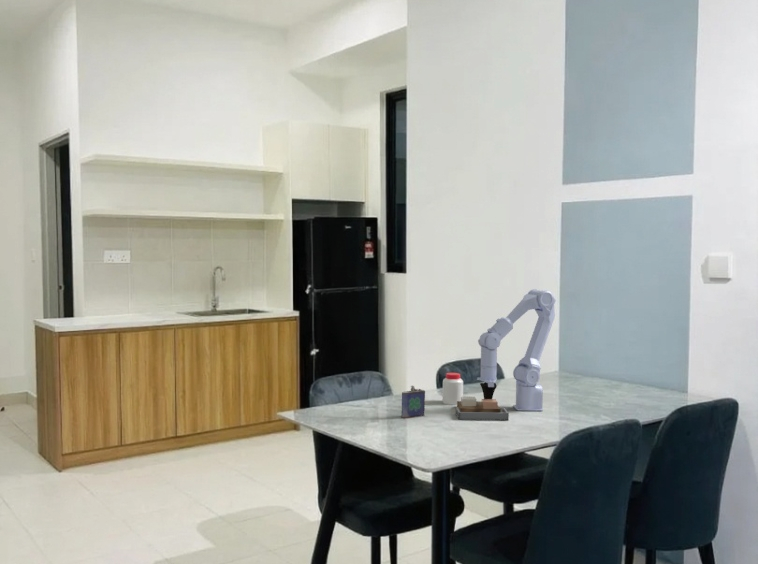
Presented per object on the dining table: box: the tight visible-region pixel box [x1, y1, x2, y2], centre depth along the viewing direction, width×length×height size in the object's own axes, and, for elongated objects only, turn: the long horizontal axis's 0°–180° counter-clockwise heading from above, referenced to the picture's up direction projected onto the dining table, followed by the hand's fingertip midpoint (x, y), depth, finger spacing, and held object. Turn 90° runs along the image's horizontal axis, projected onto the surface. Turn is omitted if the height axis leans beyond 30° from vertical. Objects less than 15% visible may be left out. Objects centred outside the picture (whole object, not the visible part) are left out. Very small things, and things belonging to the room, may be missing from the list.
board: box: [456, 400, 501, 413], centre depth 262 cm, size 14×12×2 cm
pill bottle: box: [442, 372, 464, 406], centre depth 274 cm, size 8×8×11 cm
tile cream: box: [461, 395, 477, 406], centre depth 261 cm, size 5×5×2 cm
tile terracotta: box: [481, 398, 499, 409], centre depth 257 cm, size 5×5×2 cm
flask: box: [401, 385, 426, 419], centre depth 251 cm, size 9×3×11 cm, turn 121°
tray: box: [455, 406, 510, 421], centre depth 251 cm, size 17×9×2 cm, turn 89°
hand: (487, 403), depth 261 cm, fingers closed
